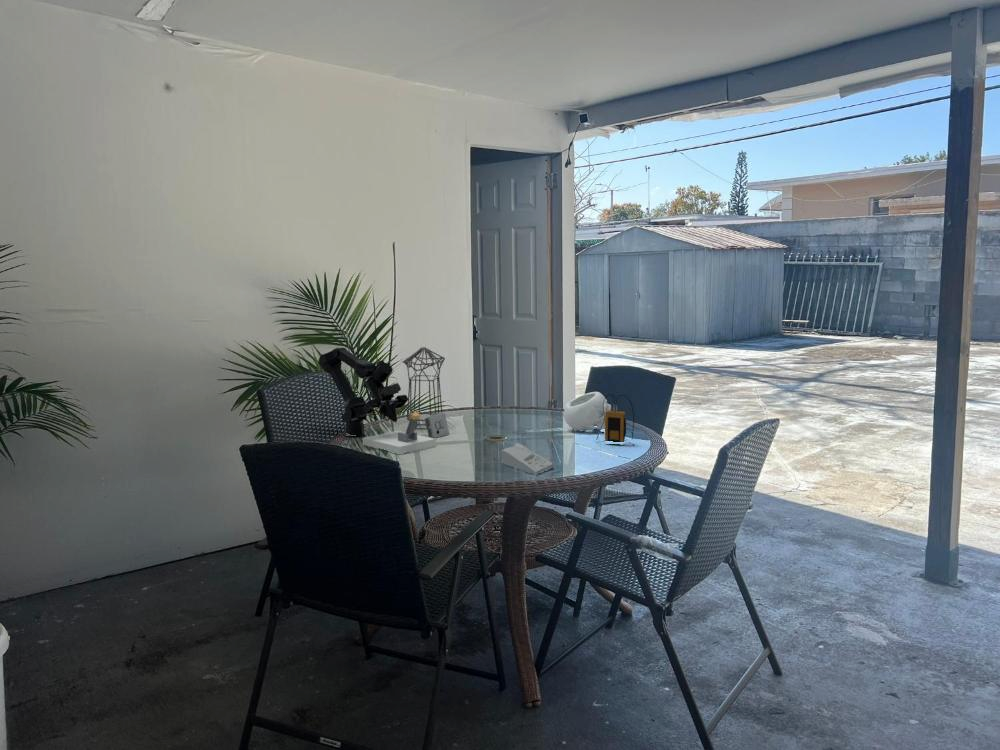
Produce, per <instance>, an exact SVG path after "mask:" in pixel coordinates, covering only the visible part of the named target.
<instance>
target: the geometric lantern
mask: <svg viewBox="0 0 1000 750" xmlns="http://www.w3.org/2000/svg"><path fill="white" fill-rule="evenodd" d="M424 355H425V357H424ZM420 356H421V357H420ZM414 359H416V360H415V362H413V360H414ZM424 360H425V362H424ZM428 360H430V361H431V362H428ZM445 360H446V358H445V357H444V356H442V355H439V354H438V353H437V352H434V351H433V350H431V349H430V348H427V347H425V346H424V347H422V346H421V347H420V348H419V349H418V350H416V351H415V352H414V353H412V354H411V355H410V356H408V357H407V358H405V359H404V360H402V363H403V364H405V366H406V368H407V376H408V378H407V379H408V393H407V394H408V395H407V397H408V399H409V400H408V401H407V408H406V409H407V410H406V411H407V412H406V420H407V421H408V422H409V421H410V418H411V417H410V415H411V413H412V412H413V413H416V411H415V410H416V395H417V394H416V393H417V390H416V389H417V381H418V413H419V414H420V415H429V416H430V415H434V414H439V413H443V404H442V394H441V392H442V391H441V381H440V374H441V373H440V372H441V368H442V365H443V364H444V362H445ZM418 361H419V362H420V363H417V362H418ZM435 365H436V366H437V370H436V367H435ZM416 366H419V367H420V369H416ZM422 366H423V367H422ZM430 367H432V368H433V369H434V370H435V375H433V379H429V377H430V375H427V374H426V373H425V371H424V370H426V369H427V368H430ZM409 368H412V369H413V371H414V374H413V376H410V370H409ZM417 371H418V372H419V371H420V372H419V374H417ZM422 373H423V374H422ZM421 374H422V375H421ZM417 377H418V379H417ZM421 377H425V378H426V379H421ZM413 380H414V392H413V393H414V396H413V411H412V381H413ZM435 381H437V382H436V387H437V390H436V389H435ZM421 382H428V397H429V401H428V402H429V412H421ZM431 382H432V389H433V405H434V412H432V402H431V401H432V400H431ZM436 391H437V405H436ZM421 422H425V419H420V418H419V419H418V421H417V424H416V427H415V430H427V427H423V428H422V427H417V426H426V423H425V424H424V423H421Z"/></svg>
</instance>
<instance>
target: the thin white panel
mask: <svg viewBox="0 0 1000 750" xmlns="http://www.w3.org/2000/svg"><path fill="white" fill-rule="evenodd" d="M363 445H367V446H372V447H375V448H380V449H384V450H387V451H391V452H394V453H397V454H396V455H398V454H402V455H404V453H406V454H408V453H407V452H410V453H413V452H412V451H414V452H418V450H419V451H423V450H426V449H431V448H435V447H436V446H437V438H433V437H429V436H426V435H425V436H424V435H419V434H418V432H416V431H414V433H413V436H412V439H409V435H408V434H406V431H400V430H396V431H390V432H386V433H381V434H375V435H371V436H367V437H362V446H363ZM422 449H423V450H422ZM394 453H393V454H394Z"/></svg>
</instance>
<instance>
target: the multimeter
mask: <svg viewBox="0 0 1000 750" xmlns="http://www.w3.org/2000/svg"><path fill="white" fill-rule="evenodd" d="M609 395H611V397H612V396H613V397H612V398H613V409H612V410H611V411H610V410H608V411H606V412H605V414H604V420H605V433H604V442H605V441H613V442H624V441H625V442H626V434H627V419H626V412H625V411H618V403H615V396H614V394H612V393H608V394H607V395H606V396H604V397H605V399H606V398H607V397H608V396H609ZM621 396H623V397H625V398H627V399H628V401H629V403H630V405H631V409H632V416H633V419H632V420H633V423H632V430H634V427H635V412H634V408H633V404H632V402H631V400H630V398H629V397H628V396H627V395H624V394H620V395H618V396H617V398H616V400H618V399H619V397H621ZM605 399H604V400H605ZM603 412H604V402H603ZM603 423H604V421H603ZM602 425H603V424H602ZM601 428H602V426H601ZM600 430H601V429H600ZM600 430H598V431H599V432H598V434H597V437H596V440H598V439H599V435H600V433H601V432H600ZM631 435H632V436H631V439H633V438H634V437H633V436H634V431H632V433H631ZM596 440H595V441H596Z"/></svg>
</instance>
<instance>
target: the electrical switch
mask: <svg viewBox="0 0 1000 750" xmlns="http://www.w3.org/2000/svg"><path fill="white" fill-rule="evenodd" d="M424 420H425V421H424V422H425V424H426V425H425V426H426V427H425V428H427V429H426V431H427V435H428V436H427V437H430V438H434V439H437V438H441V437H443V436H448V435H449V434H450V430H449V426H448V421H447V418H446V413H445V412H442V413H441V412H439V414H434V415H433V414H431V415H430V414H429V415H428V416H427V417H425V418H424ZM436 437H437V438H436Z"/></svg>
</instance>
